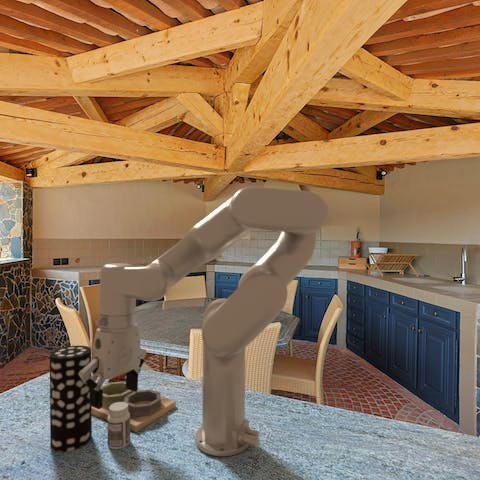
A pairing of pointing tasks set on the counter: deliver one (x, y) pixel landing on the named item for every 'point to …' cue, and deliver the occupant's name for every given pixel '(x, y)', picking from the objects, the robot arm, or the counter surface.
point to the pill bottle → (118, 425)
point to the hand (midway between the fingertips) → (114, 397)
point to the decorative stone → (119, 377)
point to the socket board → (134, 404)
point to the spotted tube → (69, 399)
